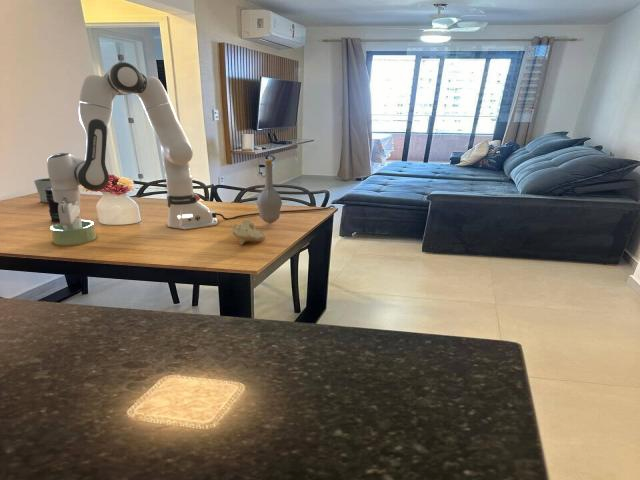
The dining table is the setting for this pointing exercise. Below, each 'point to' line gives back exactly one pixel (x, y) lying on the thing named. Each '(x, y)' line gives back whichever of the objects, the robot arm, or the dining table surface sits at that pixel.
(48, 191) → the storage jar
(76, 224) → the shot glass
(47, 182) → the grey cup
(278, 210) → the bottle
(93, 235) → the green round shallow bowl
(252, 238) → the grey beige rock
